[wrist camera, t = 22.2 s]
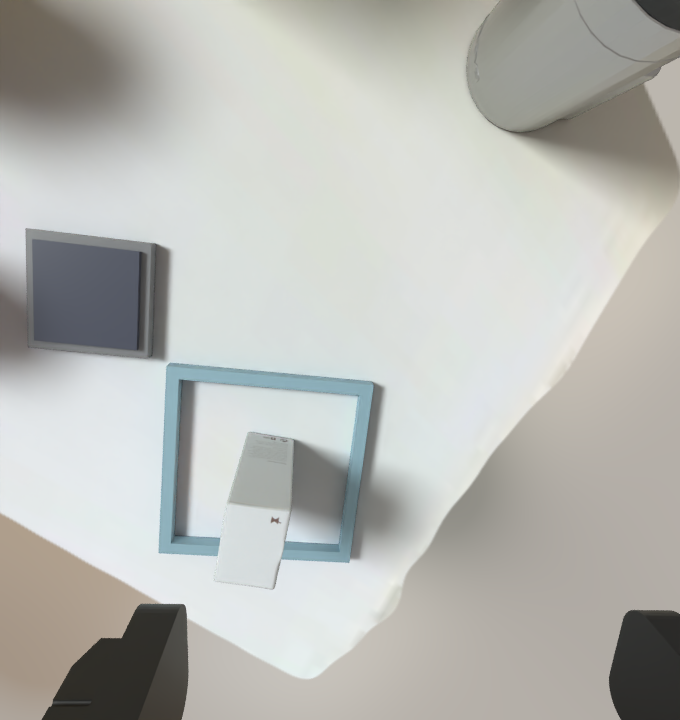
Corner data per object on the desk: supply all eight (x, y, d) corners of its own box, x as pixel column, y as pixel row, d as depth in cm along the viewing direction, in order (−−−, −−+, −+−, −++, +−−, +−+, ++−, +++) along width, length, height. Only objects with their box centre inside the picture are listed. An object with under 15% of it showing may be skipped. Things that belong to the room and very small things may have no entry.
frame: (371, 381, 41) (373, 385, 40) (347, 554, 45) (349, 562, 43) (170, 362, 39) (166, 366, 38) (162, 545, 43) (158, 553, 42)
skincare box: (246, 430, 41) (226, 499, 29) (295, 438, 42) (293, 509, 30) (235, 493, 42) (211, 584, 31) (282, 500, 43) (276, 592, 31)
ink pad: (155, 243, 37) (149, 243, 35) (152, 355, 39) (145, 359, 37) (34, 229, 36) (21, 228, 34) (36, 344, 38) (24, 348, 36)
